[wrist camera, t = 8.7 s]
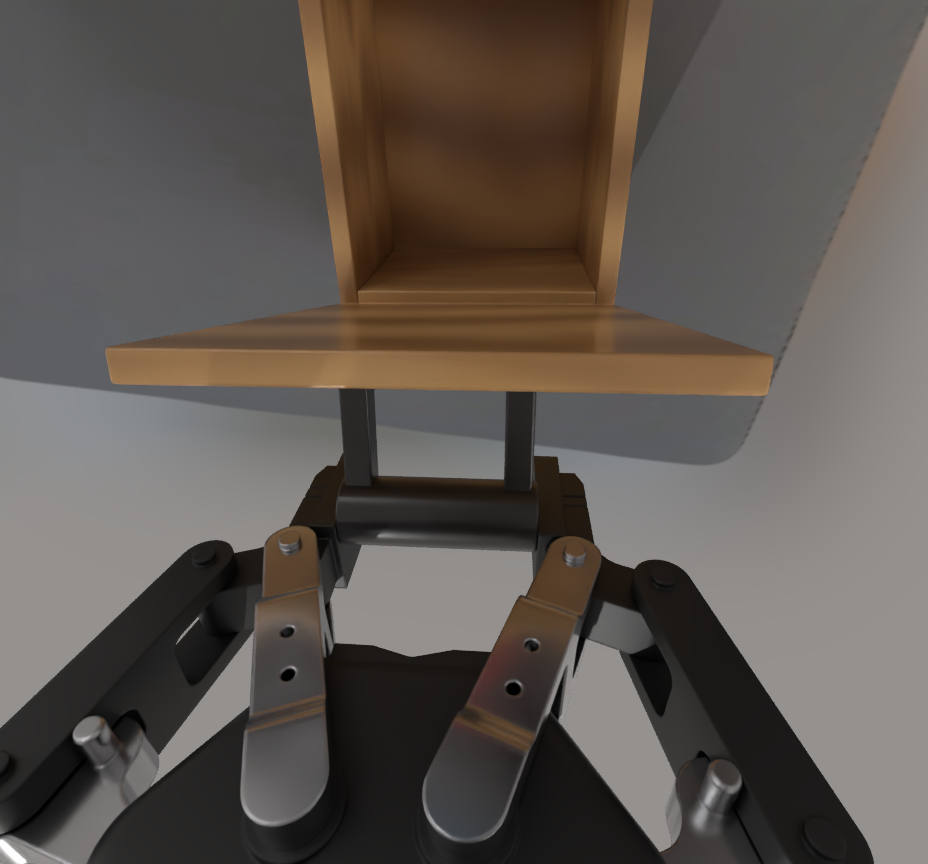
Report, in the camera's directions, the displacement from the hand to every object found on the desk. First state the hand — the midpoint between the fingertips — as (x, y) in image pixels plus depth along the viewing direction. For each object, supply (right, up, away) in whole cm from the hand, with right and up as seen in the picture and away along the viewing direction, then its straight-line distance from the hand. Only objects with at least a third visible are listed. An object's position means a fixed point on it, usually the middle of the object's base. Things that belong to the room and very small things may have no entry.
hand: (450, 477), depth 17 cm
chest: (+2, +19, +14) cm, 24 cm away
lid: (0, +5, +1) cm, 6 cm away
